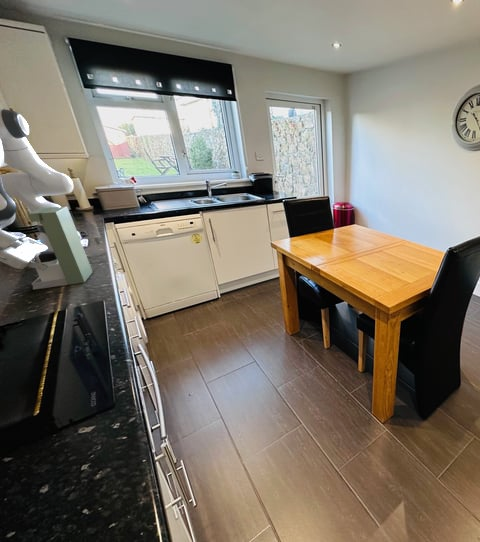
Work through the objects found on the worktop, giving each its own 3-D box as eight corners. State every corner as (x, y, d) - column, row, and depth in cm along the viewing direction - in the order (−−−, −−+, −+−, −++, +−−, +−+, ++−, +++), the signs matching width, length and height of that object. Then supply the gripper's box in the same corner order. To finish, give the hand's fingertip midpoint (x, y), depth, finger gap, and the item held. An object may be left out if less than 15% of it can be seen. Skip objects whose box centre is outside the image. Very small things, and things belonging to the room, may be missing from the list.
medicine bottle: (67, 274, 120) (56, 248, 115) (68, 279, 115) (56, 252, 111) (43, 279, 115) (30, 251, 110) (43, 285, 111) (29, 256, 106)
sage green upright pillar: (45, 278, 118) (13, 209, 106) (92, 271, 125) (67, 206, 113) (32, 289, 108) (-5, 215, 97) (84, 282, 115) (55, 212, 104)
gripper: (-6, 246, 96) (46, 267, 105) (22, 231, 113) (65, 251, 121) (-18, 260, 96) (34, 280, 104) (12, 243, 112) (55, 262, 121)
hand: (51, 264), depth 113 cm, fingers closed on medicine bottle, 8 cm apart
